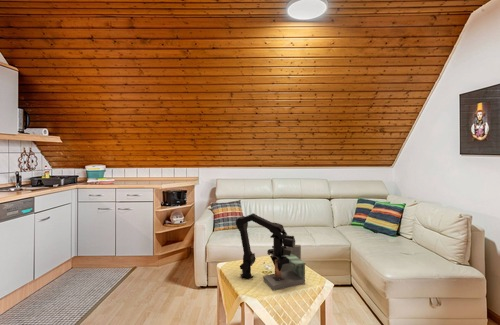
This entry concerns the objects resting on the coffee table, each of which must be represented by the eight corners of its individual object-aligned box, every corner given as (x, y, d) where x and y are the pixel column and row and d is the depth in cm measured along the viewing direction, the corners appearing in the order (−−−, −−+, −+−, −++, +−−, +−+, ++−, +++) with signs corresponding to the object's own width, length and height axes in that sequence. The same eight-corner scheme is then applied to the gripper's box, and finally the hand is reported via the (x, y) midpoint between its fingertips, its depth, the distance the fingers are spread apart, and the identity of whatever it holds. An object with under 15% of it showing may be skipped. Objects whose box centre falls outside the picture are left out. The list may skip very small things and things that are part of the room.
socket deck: (263, 280, 180) (263, 275, 180) (293, 274, 188) (293, 269, 188) (273, 290, 167) (273, 285, 167) (304, 283, 176) (304, 279, 175)
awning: (283, 271, 186) (283, 255, 185) (292, 269, 189) (292, 254, 188) (295, 281, 172) (295, 264, 172) (305, 279, 175) (305, 262, 174)
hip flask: (279, 274, 189) (279, 244, 188) (277, 271, 193) (277, 242, 192) (301, 271, 193) (301, 242, 192) (298, 268, 197) (299, 240, 196)
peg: (273, 275, 177) (273, 259, 177) (279, 273, 179) (279, 258, 178) (276, 277, 174) (276, 261, 173) (282, 276, 175) (282, 260, 174)
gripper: (297, 248, 169) (297, 273, 170) (282, 238, 187) (282, 261, 188) (280, 250, 165) (280, 276, 166) (267, 240, 182) (267, 264, 183)
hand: (277, 269), depth 176 cm, fingers closed on peg, 4 cm apart
